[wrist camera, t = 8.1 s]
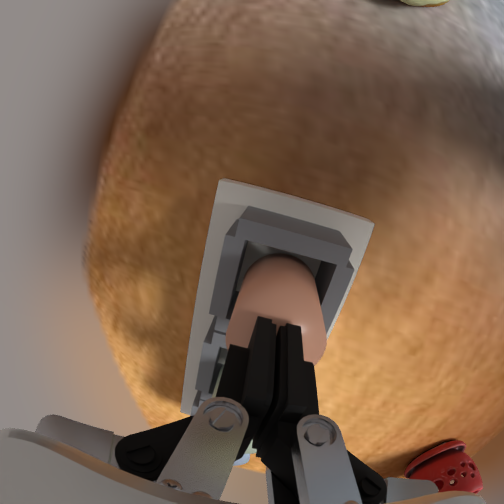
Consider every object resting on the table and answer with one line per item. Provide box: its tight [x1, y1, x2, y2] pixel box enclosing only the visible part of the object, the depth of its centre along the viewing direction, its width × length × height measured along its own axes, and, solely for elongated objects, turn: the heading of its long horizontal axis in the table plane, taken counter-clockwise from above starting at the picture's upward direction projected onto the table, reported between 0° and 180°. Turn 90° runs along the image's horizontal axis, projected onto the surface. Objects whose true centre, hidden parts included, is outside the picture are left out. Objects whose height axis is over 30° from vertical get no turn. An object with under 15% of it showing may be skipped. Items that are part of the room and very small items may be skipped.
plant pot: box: [404, 440, 483, 494], centre depth 22 cm, size 13×13×12 cm
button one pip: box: [226, 253, 327, 365], centre depth 13 cm, size 4×4×5 cm
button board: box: [180, 178, 375, 454], centre depth 19 cm, size 23×10×5 cm, turn 166°
